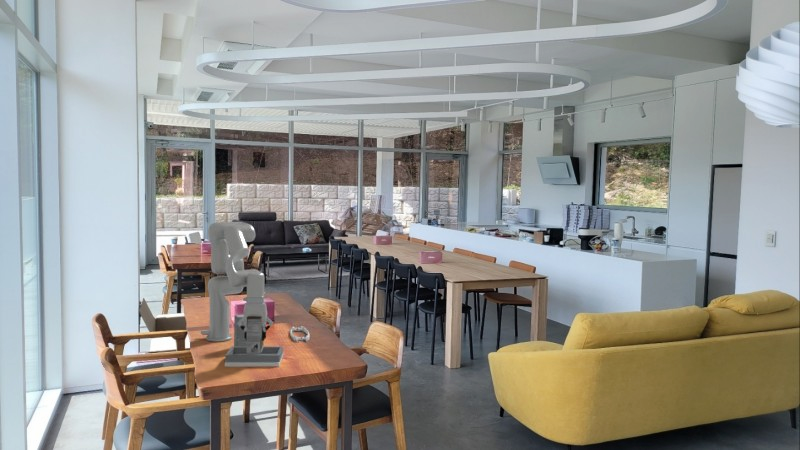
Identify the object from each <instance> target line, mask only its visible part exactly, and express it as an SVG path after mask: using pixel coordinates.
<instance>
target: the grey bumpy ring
mask: <svg viewBox="0 0 800 450" xmlns="http://www.w3.org/2000/svg"><path fill="white" fill-rule="evenodd" d="M293 332H303V333H305V334H306V335H305V336H299V337H298V336H297V335H294V334H293ZM289 335H290V337H291V339H292V340H293V342H296V343H299V342H301V341H302V342H303V341H305V342H306V343H307V342H309V340H310V336H311V334H310V332H309V330H308V329H307V328H306V327H305V326H302V325H300V327H299V326H298V327H295V326H292V327H291V328H290V330H289Z"/></svg>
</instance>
